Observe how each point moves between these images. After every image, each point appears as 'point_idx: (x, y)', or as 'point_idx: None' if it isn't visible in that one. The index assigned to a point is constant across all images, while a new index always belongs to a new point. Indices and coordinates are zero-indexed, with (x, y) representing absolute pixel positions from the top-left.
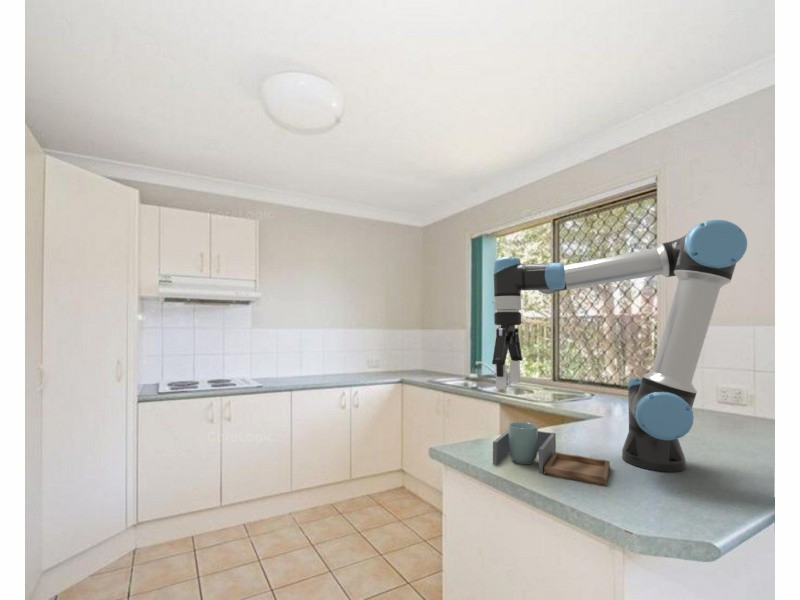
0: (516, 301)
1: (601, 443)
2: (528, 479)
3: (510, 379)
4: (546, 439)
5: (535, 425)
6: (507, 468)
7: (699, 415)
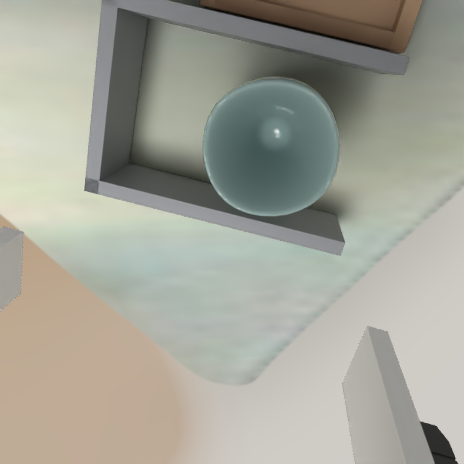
0: None
1: None
2: (455, 110)
3: (6, 304)
4: (125, 34)
5: (246, 89)
6: (360, 179)
7: None
